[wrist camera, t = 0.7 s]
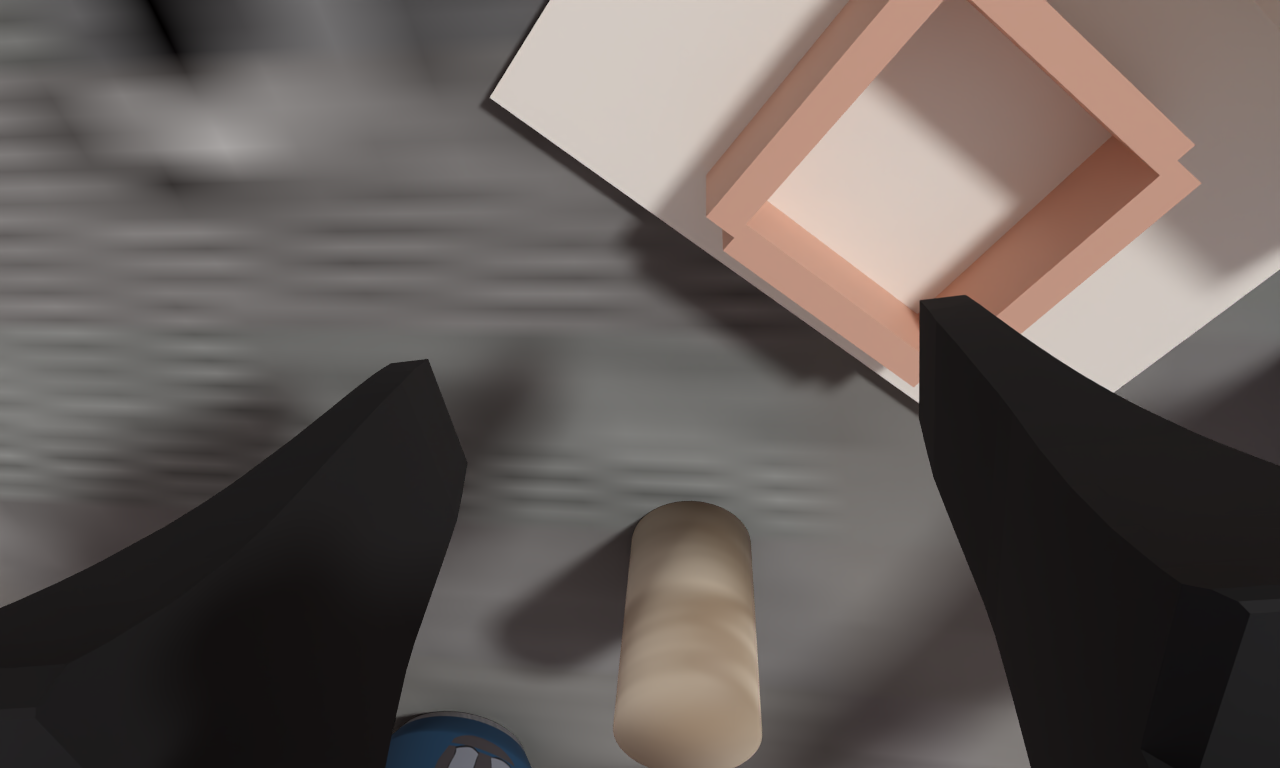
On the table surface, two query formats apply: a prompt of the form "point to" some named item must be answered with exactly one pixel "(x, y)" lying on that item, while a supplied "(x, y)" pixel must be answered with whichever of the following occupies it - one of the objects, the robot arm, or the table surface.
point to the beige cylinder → (689, 642)
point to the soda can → (454, 743)
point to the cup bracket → (939, 156)
